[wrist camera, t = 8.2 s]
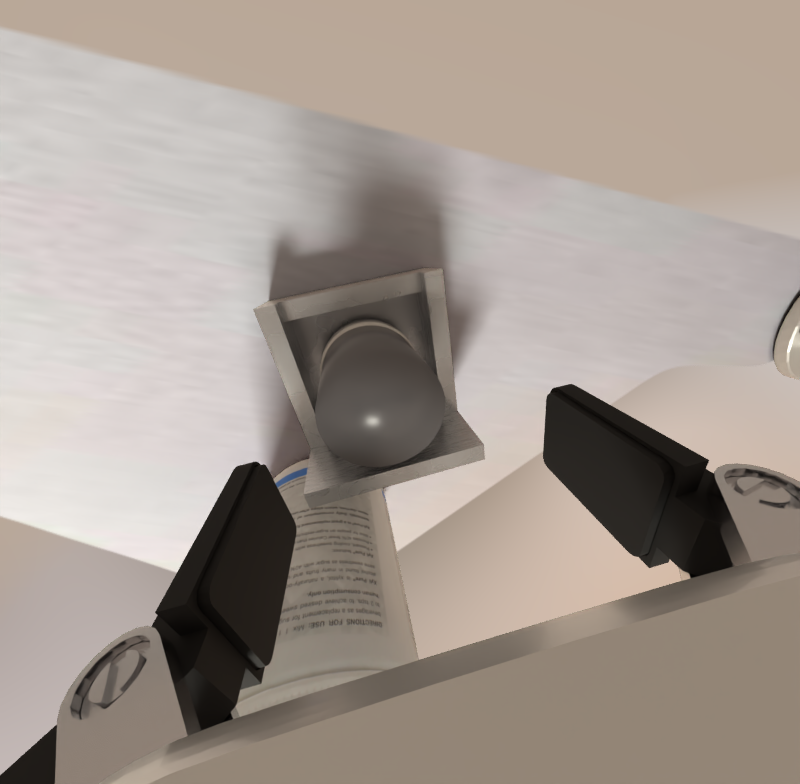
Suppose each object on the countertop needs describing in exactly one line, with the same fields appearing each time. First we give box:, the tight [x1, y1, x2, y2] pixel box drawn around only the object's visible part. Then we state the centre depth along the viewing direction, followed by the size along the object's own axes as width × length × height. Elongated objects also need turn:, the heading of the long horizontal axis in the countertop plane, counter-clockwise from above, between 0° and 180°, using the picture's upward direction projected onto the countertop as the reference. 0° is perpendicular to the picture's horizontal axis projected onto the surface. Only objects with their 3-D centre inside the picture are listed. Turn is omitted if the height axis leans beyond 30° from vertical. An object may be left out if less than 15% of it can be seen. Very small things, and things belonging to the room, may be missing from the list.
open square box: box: [253, 268, 485, 508], centre depth 16 cm, size 10×10×7 cm
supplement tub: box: [236, 459, 419, 717], centre depth 17 cm, size 10×10×15 cm
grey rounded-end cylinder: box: [315, 319, 445, 467], centre depth 15 cm, size 6×6×7 cm
